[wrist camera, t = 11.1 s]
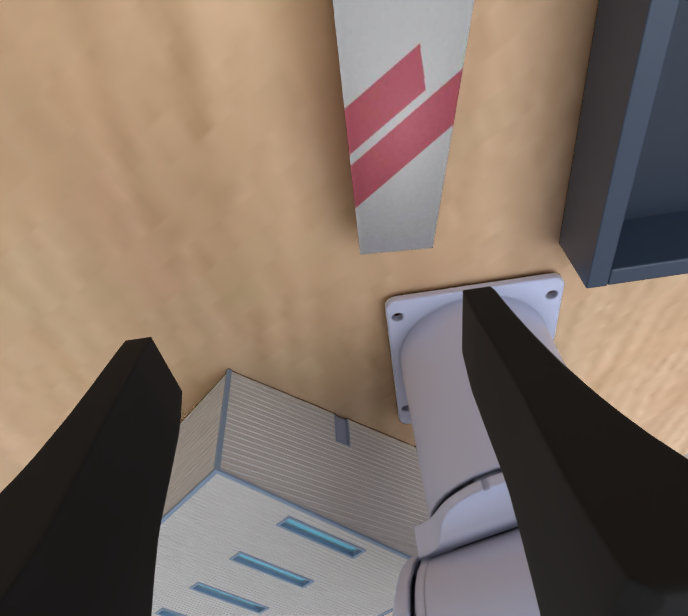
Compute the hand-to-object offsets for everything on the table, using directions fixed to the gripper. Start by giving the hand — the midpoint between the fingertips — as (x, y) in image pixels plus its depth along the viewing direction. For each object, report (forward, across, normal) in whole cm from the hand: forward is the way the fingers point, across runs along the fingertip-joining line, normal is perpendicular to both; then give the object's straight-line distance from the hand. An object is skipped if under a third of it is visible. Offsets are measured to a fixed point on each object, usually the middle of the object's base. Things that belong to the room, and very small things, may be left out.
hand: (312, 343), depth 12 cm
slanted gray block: (+9, +12, +26) cm, 30 cm away
